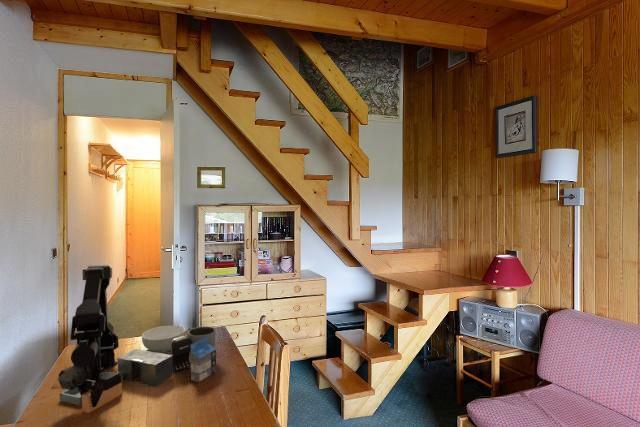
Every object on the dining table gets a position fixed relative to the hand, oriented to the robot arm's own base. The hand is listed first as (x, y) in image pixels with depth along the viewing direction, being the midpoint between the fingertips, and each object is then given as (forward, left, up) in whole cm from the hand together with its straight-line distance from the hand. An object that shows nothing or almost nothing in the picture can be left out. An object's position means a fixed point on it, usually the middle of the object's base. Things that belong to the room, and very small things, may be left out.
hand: (90, 405), depth 120 cm
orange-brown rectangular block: (0, +4, -1) cm, 4 cm away
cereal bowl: (-13, +45, -1) cm, 47 cm away
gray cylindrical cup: (+10, +39, -1) cm, 41 cm away
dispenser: (0, +21, -1) cm, 22 cm away
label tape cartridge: (+18, +29, -1) cm, 34 cm away
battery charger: (+7, +31, -1) cm, 32 cm away
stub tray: (-9, +8, -1) cm, 12 cm away
